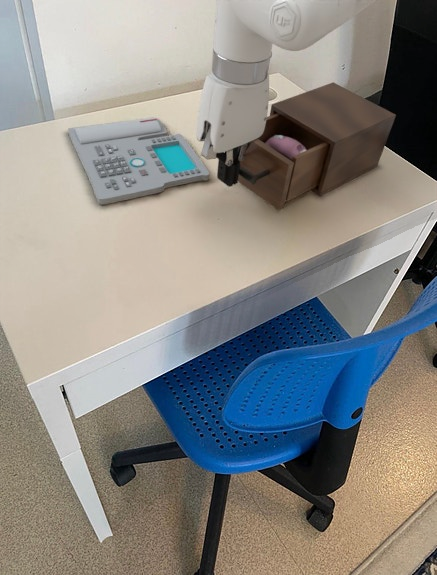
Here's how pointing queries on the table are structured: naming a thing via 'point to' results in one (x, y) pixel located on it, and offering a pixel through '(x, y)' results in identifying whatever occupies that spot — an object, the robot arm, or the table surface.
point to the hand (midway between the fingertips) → (227, 180)
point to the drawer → (283, 163)
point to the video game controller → (285, 146)
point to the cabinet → (340, 130)
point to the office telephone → (134, 159)
